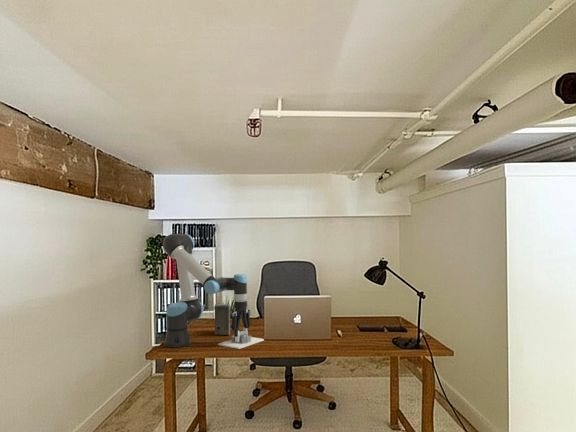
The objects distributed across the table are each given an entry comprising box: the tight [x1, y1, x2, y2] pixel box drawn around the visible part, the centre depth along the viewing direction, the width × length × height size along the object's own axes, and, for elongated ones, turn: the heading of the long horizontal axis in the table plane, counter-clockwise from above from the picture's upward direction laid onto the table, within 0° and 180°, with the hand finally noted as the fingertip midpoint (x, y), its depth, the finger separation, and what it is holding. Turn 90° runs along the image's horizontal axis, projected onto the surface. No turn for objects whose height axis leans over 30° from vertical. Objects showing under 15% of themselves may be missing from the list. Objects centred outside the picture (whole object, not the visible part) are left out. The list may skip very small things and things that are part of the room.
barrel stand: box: [217, 334, 265, 350], centre depth 252 cm, size 22×16×4 cm
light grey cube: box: [238, 330, 248, 343], centre depth 252 cm, size 6×6×6 cm
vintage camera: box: [213, 303, 232, 336], centre depth 279 cm, size 10×16×20 cm, turn 174°
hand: (241, 340), depth 252 cm, fingers closed on light grey cube, 6 cm apart
